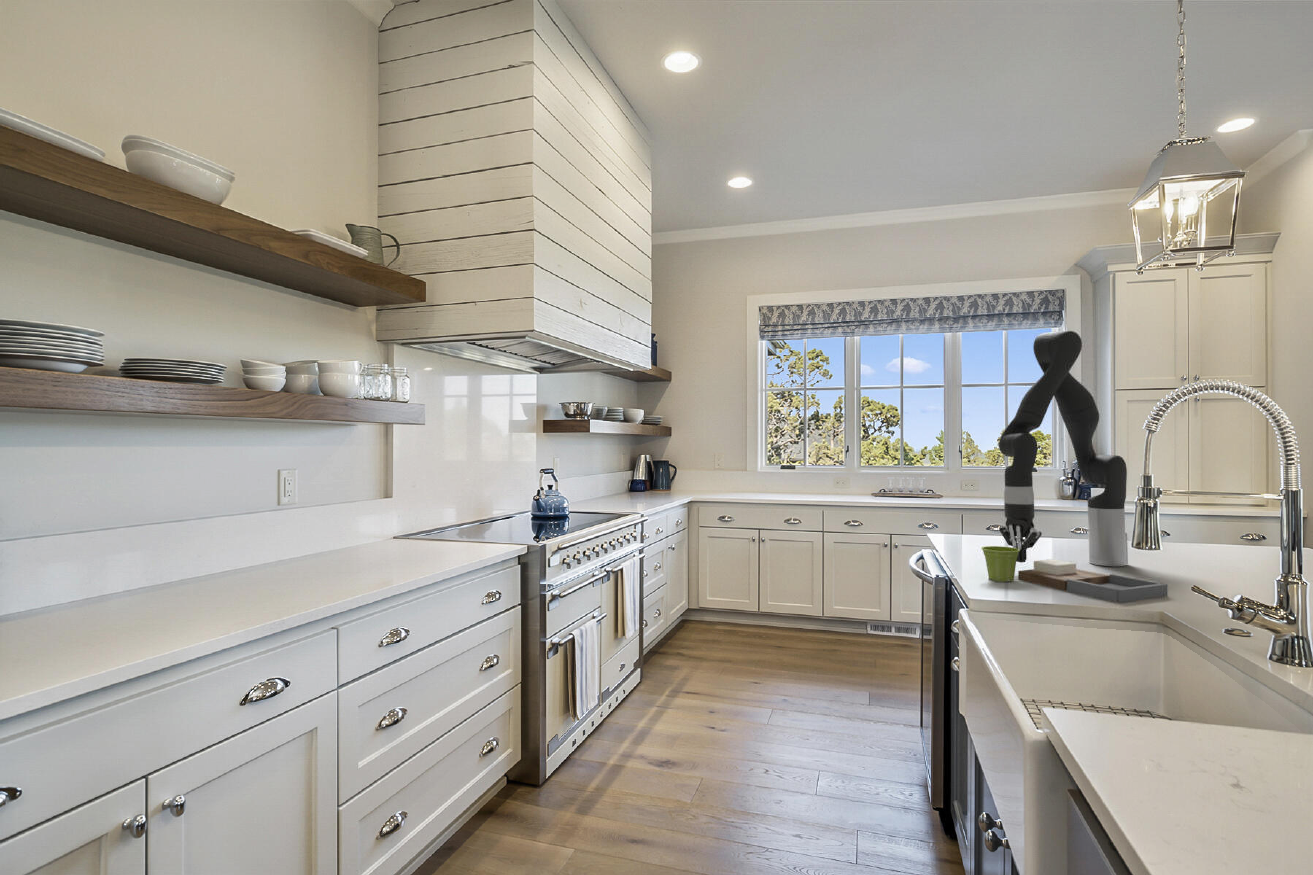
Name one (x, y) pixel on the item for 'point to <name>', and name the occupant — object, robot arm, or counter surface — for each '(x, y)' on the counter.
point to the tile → (1055, 567)
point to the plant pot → (1001, 562)
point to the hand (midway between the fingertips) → (1020, 561)
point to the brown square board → (1061, 578)
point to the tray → (1120, 589)
